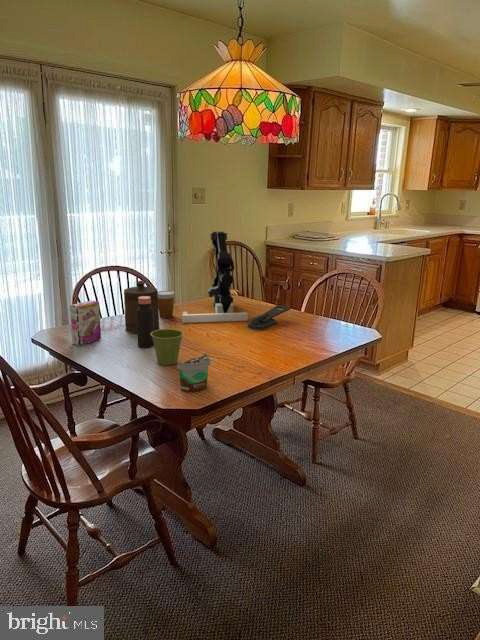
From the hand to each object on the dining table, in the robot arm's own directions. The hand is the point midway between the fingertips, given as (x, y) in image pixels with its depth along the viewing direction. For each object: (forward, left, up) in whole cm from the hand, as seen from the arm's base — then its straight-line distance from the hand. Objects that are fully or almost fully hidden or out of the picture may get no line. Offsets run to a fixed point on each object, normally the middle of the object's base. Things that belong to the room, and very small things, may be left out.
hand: (224, 312), depth 243 cm
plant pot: (+64, -30, -1) cm, 71 cm away
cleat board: (+9, -6, -1) cm, 10 cm away
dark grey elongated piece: (+20, +19, -1) cm, 27 cm away
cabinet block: (0, 0, -1) cm, 1 cm away
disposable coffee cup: (+1, -29, -1) cm, 29 cm away
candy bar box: (+36, -62, -1) cm, 72 cm away
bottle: (+44, -38, -1) cm, 58 cm away
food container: (+89, -21, -1) cm, 91 cm away
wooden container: (+21, -40, -1) cm, 45 cm away
